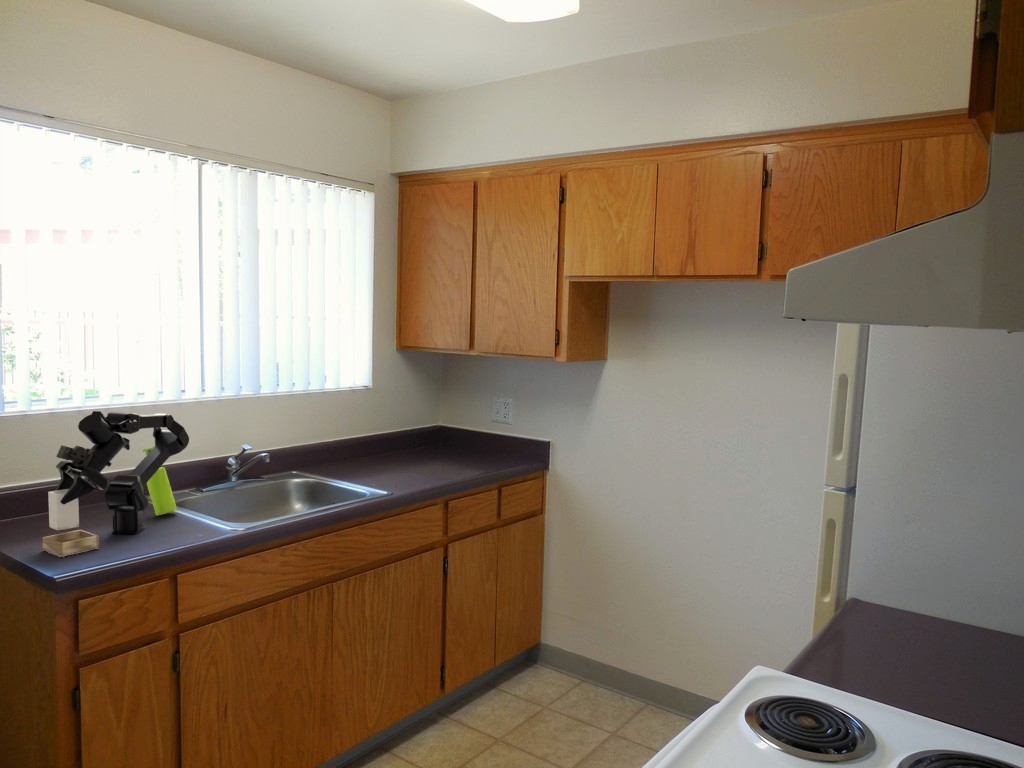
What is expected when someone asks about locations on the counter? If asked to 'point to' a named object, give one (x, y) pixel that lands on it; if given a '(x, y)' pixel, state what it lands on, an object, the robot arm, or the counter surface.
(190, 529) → the counter surface
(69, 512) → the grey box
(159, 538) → the counter surface
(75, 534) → the pine crate
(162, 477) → the soap dispenser
